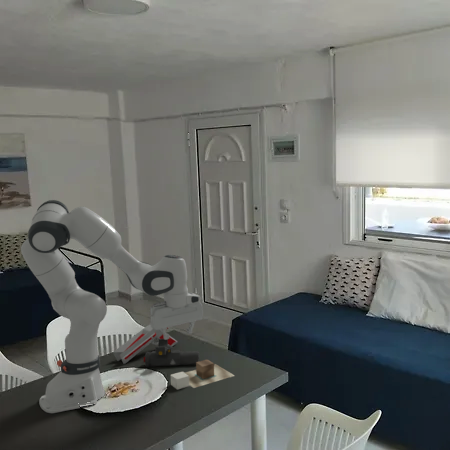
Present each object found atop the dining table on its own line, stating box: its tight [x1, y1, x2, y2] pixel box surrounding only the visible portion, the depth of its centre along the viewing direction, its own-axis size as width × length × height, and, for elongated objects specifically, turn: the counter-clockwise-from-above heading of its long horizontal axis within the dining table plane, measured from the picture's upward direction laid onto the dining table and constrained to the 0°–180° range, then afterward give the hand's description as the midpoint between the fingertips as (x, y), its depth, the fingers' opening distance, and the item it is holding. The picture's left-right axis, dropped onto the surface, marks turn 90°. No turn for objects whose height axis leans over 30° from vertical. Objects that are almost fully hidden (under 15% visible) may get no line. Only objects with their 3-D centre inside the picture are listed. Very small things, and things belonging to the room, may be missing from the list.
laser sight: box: [143, 339, 200, 368], centre depth 211 cm, size 10×22×10 cm, turn 90°
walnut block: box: [195, 359, 215, 379], centre depth 198 cm, size 5×5×5 cm
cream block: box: [170, 371, 190, 390], centre depth 190 cm, size 5×5×5 cm
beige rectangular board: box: [184, 363, 235, 389], centre depth 198 cm, size 18×14×1 cm
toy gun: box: [113, 323, 179, 365], centre depth 225 cm, size 7×28×15 cm, turn 133°
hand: (178, 336), depth 188 cm, fingers open, 8 cm apart
